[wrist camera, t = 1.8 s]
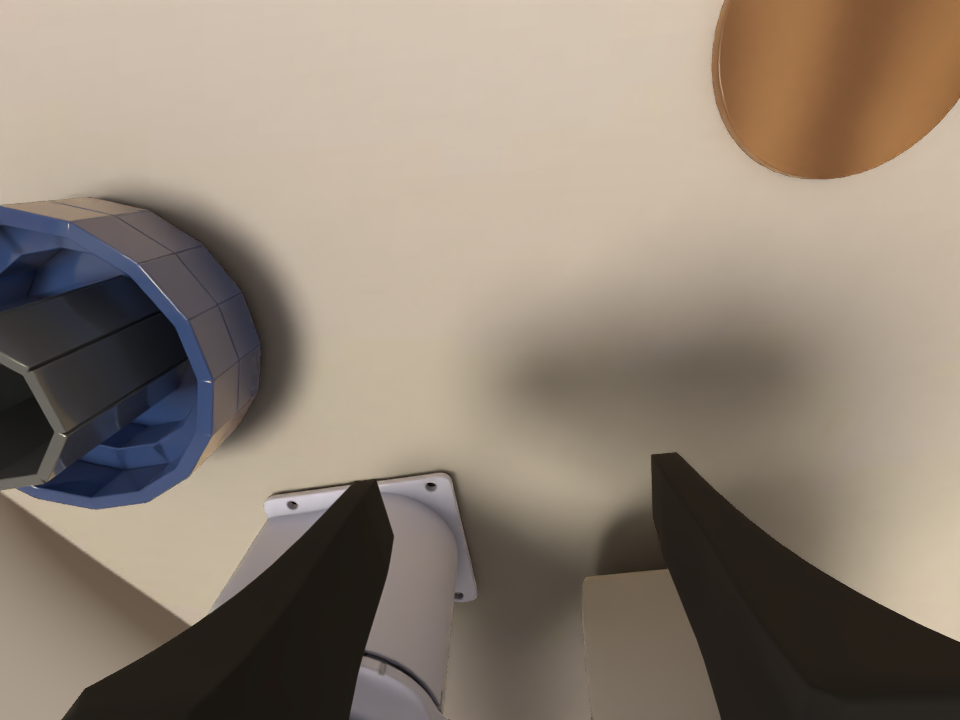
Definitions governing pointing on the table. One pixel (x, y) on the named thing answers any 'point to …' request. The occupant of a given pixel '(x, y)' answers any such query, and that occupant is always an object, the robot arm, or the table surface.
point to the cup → (79, 373)
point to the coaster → (834, 79)
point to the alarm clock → (642, 651)
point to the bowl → (181, 298)
